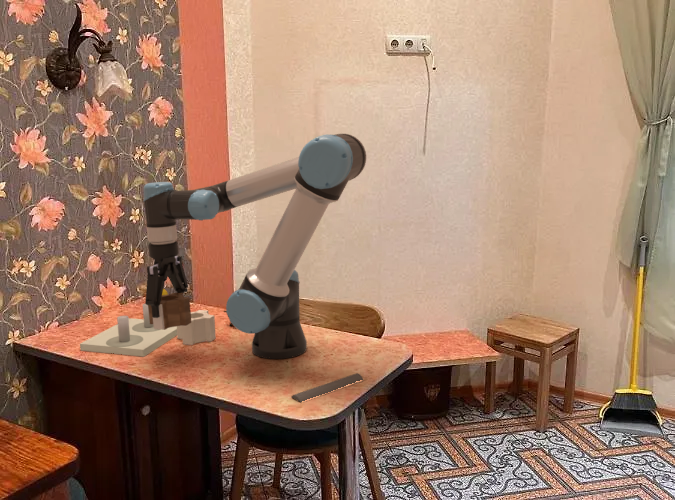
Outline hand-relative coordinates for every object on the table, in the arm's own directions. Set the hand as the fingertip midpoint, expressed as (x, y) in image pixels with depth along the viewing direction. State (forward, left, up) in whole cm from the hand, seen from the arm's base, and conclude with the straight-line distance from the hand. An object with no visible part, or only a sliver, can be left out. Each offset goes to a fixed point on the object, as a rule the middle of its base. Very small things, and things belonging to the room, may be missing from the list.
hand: (170, 322), depth 178 cm
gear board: (+18, -10, -10) cm, 22 cm away
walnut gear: (0, 0, 0) cm, 0 cm away
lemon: (+26, -38, -10) cm, 47 cm away
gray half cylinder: (-47, +10, -11) cm, 49 cm away
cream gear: (+1, -15, -10) cm, 18 cm away
